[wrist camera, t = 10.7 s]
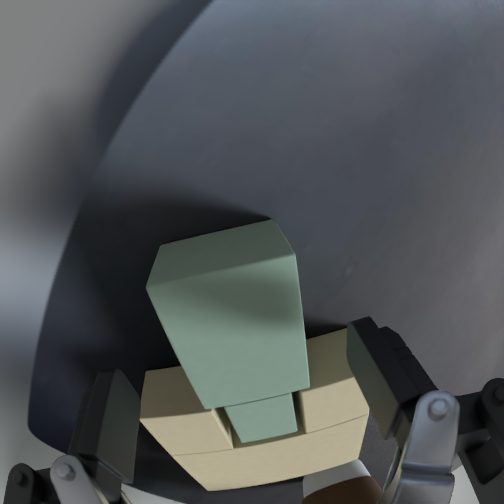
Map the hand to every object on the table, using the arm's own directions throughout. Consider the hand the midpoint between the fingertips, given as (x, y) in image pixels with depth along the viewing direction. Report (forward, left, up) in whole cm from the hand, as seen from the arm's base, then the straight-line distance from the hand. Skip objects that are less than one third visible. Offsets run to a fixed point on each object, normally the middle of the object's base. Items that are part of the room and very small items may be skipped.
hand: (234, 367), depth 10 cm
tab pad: (+2, 0, -5) cm, 5 cm away
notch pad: (+10, 0, -5) cm, 11 cm away
